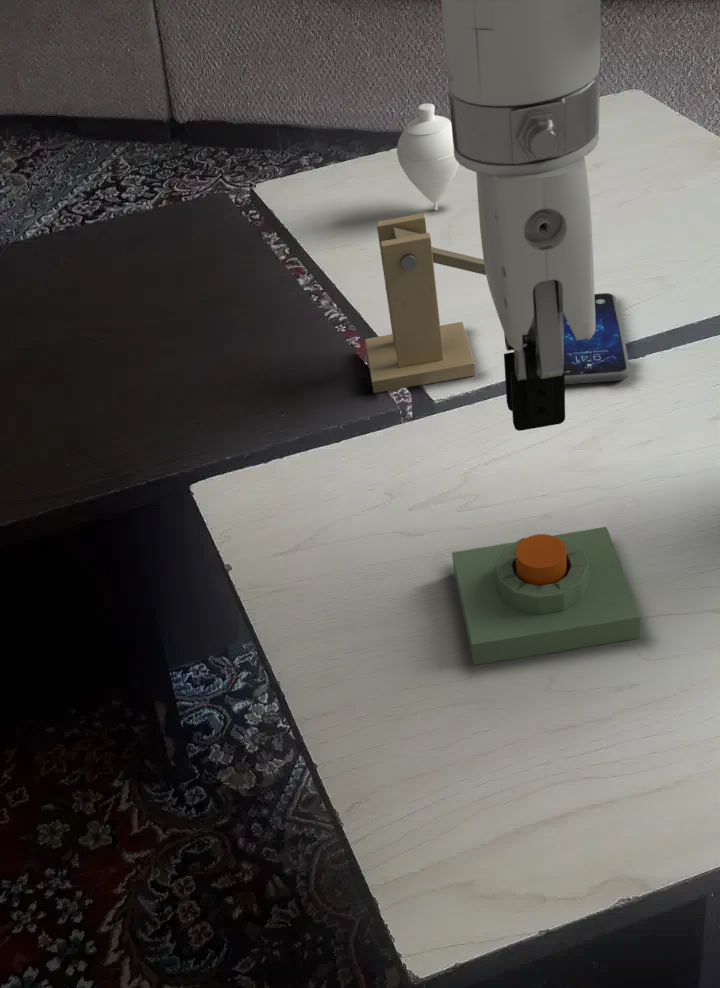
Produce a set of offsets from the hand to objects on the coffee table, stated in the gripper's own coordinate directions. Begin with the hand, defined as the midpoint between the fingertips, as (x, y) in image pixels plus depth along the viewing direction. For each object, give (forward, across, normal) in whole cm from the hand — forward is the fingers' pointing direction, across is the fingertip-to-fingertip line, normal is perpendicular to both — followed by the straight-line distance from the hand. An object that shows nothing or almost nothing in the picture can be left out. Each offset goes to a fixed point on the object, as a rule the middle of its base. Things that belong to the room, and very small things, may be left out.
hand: (535, 413), depth 68 cm
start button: (+13, 0, 0) cm, 13 cm away
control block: (+17, 0, 0) cm, 17 cm away
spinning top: (+17, +69, -1) cm, 71 cm away
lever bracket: (+17, +36, +5) cm, 40 cm away
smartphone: (+17, +34, -11) cm, 40 cm away
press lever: (+8, +36, +1) cm, 37 cm away
